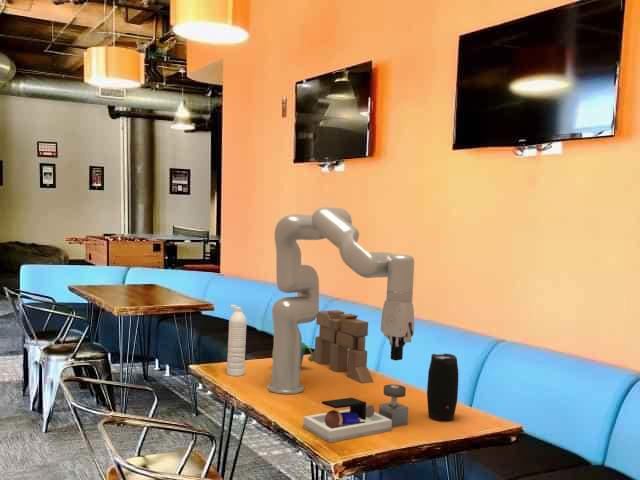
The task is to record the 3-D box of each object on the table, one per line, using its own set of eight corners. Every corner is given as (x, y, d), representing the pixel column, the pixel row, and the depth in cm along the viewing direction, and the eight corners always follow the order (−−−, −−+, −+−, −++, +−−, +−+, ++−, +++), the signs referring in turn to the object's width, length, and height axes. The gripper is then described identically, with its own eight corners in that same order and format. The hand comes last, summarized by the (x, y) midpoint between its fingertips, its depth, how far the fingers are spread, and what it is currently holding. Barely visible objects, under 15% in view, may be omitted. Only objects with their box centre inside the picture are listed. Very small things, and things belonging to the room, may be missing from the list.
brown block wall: (303, 360, 251) (305, 306, 250) (320, 358, 255) (323, 305, 255) (360, 384, 217) (363, 321, 216) (378, 381, 221) (381, 320, 221)
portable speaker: (456, 423, 177) (459, 360, 177) (424, 420, 179) (428, 357, 179) (456, 415, 185) (459, 354, 185) (426, 411, 188) (429, 351, 187)
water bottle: (247, 375, 221) (250, 307, 221) (231, 377, 218) (234, 308, 217) (236, 369, 229) (239, 304, 228) (221, 371, 225) (223, 305, 224)
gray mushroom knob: (378, 409, 177) (379, 384, 176) (394, 406, 180) (396, 382, 180) (392, 415, 171) (393, 390, 171) (409, 412, 175) (410, 388, 175)
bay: (302, 427, 168) (303, 416, 168) (362, 416, 180) (363, 406, 180) (329, 442, 157) (329, 431, 157) (391, 430, 169) (391, 420, 169)
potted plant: (312, 367, 238) (313, 342, 238) (310, 374, 228) (311, 347, 227) (273, 365, 239) (274, 339, 239) (269, 371, 229) (270, 344, 228)
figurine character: (356, 422, 176) (317, 425, 166) (360, 395, 176) (321, 397, 166) (373, 428, 171) (334, 432, 161) (376, 401, 171) (337, 404, 161)
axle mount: (378, 420, 177) (379, 404, 176) (394, 418, 180) (394, 401, 180) (391, 427, 172) (392, 410, 171) (407, 424, 175) (408, 407, 175)
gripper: (373, 294, 179) (370, 355, 179) (406, 300, 166) (403, 366, 167) (392, 293, 183) (389, 353, 183) (426, 300, 171) (423, 364, 171)
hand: (396, 359), depth 175 cm, fingers closed
